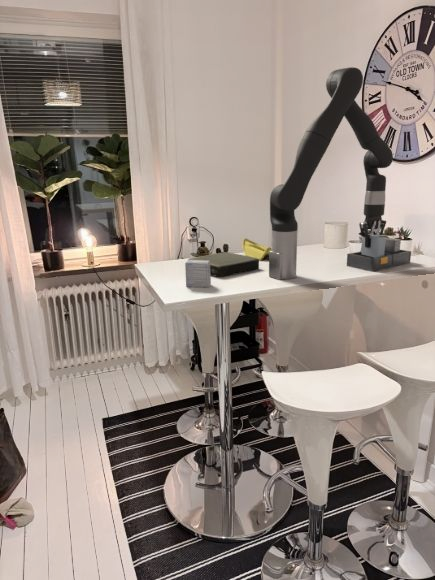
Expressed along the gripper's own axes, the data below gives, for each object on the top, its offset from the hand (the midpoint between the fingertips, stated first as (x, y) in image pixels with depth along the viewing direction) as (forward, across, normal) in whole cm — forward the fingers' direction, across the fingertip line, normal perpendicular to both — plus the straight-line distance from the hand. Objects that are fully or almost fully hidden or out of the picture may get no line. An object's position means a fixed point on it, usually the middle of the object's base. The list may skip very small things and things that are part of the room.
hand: (371, 246), depth 169 cm
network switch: (+9, -49, +32) cm, 60 cm away
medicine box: (+8, -70, +16) cm, 73 cm away
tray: (+8, +6, 0) cm, 10 cm away
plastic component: (+8, -21, +44) cm, 50 cm away
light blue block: (+3, 0, -1) cm, 4 cm away
